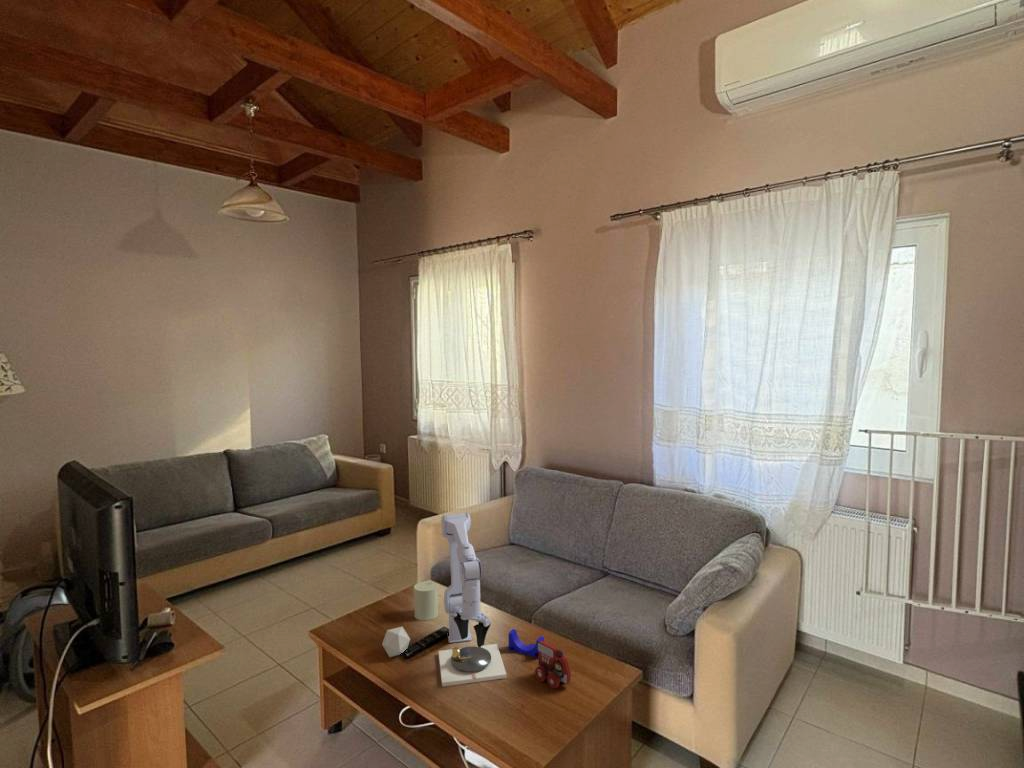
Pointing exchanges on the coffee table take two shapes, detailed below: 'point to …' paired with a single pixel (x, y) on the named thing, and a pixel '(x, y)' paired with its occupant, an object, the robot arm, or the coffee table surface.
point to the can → (426, 600)
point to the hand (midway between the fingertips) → (472, 641)
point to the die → (395, 641)
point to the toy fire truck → (552, 665)
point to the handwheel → (470, 658)
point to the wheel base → (462, 677)
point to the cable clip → (523, 645)
